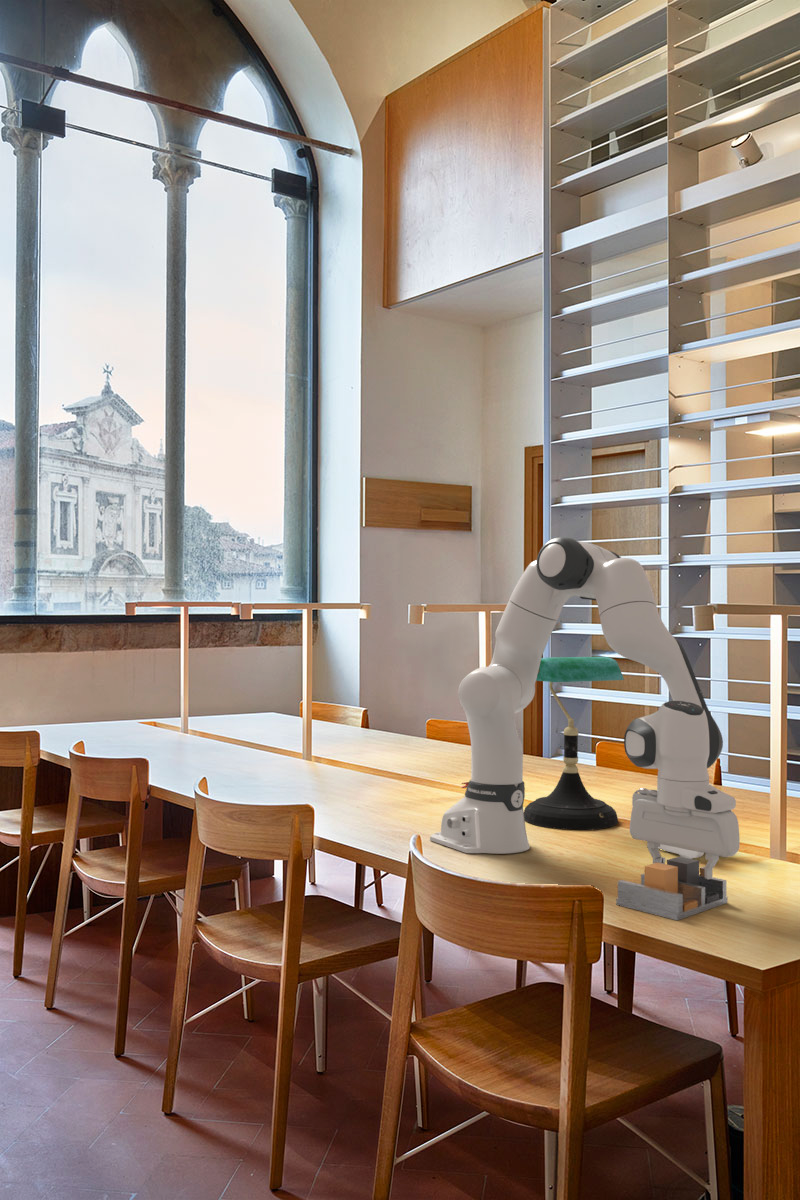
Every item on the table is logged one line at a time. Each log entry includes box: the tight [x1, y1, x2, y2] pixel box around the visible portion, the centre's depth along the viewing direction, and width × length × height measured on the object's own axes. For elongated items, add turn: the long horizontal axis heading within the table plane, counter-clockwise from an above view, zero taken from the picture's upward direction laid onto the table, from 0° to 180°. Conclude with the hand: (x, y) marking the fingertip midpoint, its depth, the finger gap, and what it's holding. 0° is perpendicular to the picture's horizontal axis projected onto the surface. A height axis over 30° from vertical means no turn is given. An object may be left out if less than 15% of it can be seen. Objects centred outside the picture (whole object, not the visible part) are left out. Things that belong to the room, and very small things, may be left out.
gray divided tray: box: [615, 873, 729, 921], centre depth 178 cm, size 12×16×4 cm
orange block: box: [644, 863, 678, 893], centre depth 175 cm, size 4×4×6 cm
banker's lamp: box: [523, 656, 625, 831], centre depth 250 cm, size 26×23×40 cm
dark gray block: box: [666, 856, 700, 886], centre depth 180 cm, size 4×4×6 cm
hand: (682, 872), depth 180 cm, fingers open, 8 cm apart
